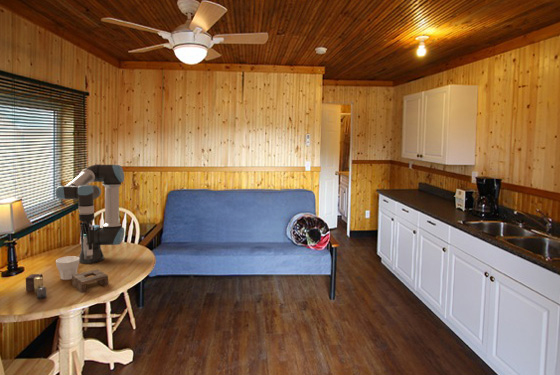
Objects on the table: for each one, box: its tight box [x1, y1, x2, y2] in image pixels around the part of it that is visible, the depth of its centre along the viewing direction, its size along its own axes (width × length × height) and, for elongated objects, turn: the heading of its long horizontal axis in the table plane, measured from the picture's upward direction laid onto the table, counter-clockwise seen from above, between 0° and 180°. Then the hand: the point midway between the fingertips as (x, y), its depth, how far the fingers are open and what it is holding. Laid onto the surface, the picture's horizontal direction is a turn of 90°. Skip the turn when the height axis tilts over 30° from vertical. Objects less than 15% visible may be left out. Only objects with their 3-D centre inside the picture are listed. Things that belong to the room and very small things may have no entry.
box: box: [25, 273, 43, 292], centre depth 208 cm, size 6×6×7 cm
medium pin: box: [34, 277, 44, 295], centre depth 203 cm, size 4×4×8 cm
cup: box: [55, 255, 80, 281], centre depth 225 cm, size 12×12×11 cm
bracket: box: [71, 268, 109, 293], centre depth 215 cm, size 14×14×6 cm
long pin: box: [83, 234, 92, 260], centre depth 212 cm, size 4×4×14 cm
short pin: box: [36, 286, 47, 300], centre depth 198 cm, size 4×4×5 cm
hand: (88, 253), depth 212 cm, fingers closed on long pin, 4 cm apart
